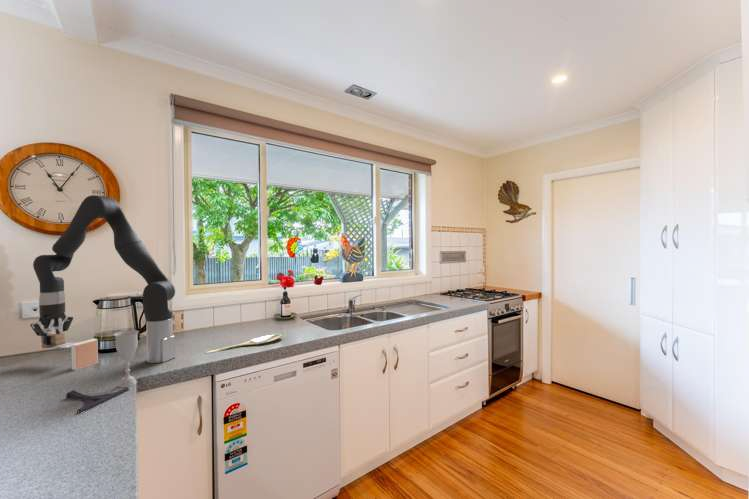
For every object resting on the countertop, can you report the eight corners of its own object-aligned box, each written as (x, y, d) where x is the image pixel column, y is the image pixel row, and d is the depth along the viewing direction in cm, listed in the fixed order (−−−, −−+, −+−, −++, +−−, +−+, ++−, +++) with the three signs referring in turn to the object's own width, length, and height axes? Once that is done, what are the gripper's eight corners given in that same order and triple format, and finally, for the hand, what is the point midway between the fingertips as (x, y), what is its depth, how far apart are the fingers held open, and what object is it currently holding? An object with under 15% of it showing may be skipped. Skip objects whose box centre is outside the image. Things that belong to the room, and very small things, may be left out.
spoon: (207, 360, 135) (207, 355, 135) (204, 353, 144) (203, 349, 144) (285, 340, 155) (285, 336, 155) (278, 335, 164) (278, 331, 164)
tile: (98, 362, 129) (97, 339, 129) (76, 370, 121) (75, 345, 121) (94, 362, 129) (93, 338, 129) (71, 370, 122) (71, 344, 122)
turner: (83, 343, 129) (82, 331, 129) (66, 348, 123) (65, 335, 123) (55, 344, 133) (54, 333, 133) (37, 349, 127) (36, 337, 127)
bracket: (92, 389, 106) (92, 381, 106) (129, 392, 104) (128, 383, 103) (40, 411, 92) (40, 402, 92) (81, 415, 89) (81, 406, 89)
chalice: (145, 381, 110) (144, 331, 110) (124, 389, 104) (123, 336, 103) (131, 378, 113) (129, 329, 112) (109, 386, 106) (108, 334, 106)
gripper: (37, 306, 121) (38, 350, 121) (78, 300, 135) (79, 339, 135) (23, 305, 123) (24, 348, 123) (65, 299, 136) (66, 338, 137)
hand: (53, 343), depth 129 cm, fingers closed on turner, 3 cm apart
